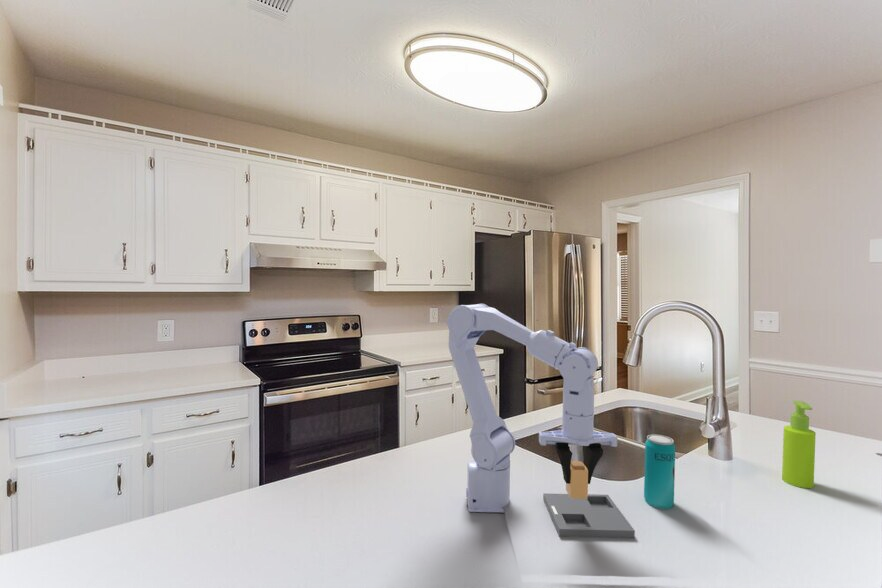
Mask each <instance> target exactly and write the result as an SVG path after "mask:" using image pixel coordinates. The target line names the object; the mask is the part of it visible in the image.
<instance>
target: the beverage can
mask: <svg viewBox="0 0 882 588" xmlns="http://www.w3.org/2000/svg"><path fill="white" fill-rule="evenodd" d="M674 443H675V441H674V439H673V438H671V437H670V436H667V435H663V434H655V433H654V434H653V433H652V434H648V435H647V436H646V441H645V443H644V446H645V448H644V478H643V480H644V483H643V484H644V485H643V486H644V487H643V497H644V500H645V502H646V503H647V504H648V505H650V506H652V507H654V508H657V509H660V510H661V509H662V510H667V509H668V510H669V509H671V508H673V506H674V503H675V480H676V479H675V476H676V475H675V472H676V470H675V469H676V446H675V444H674Z"/></svg>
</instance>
